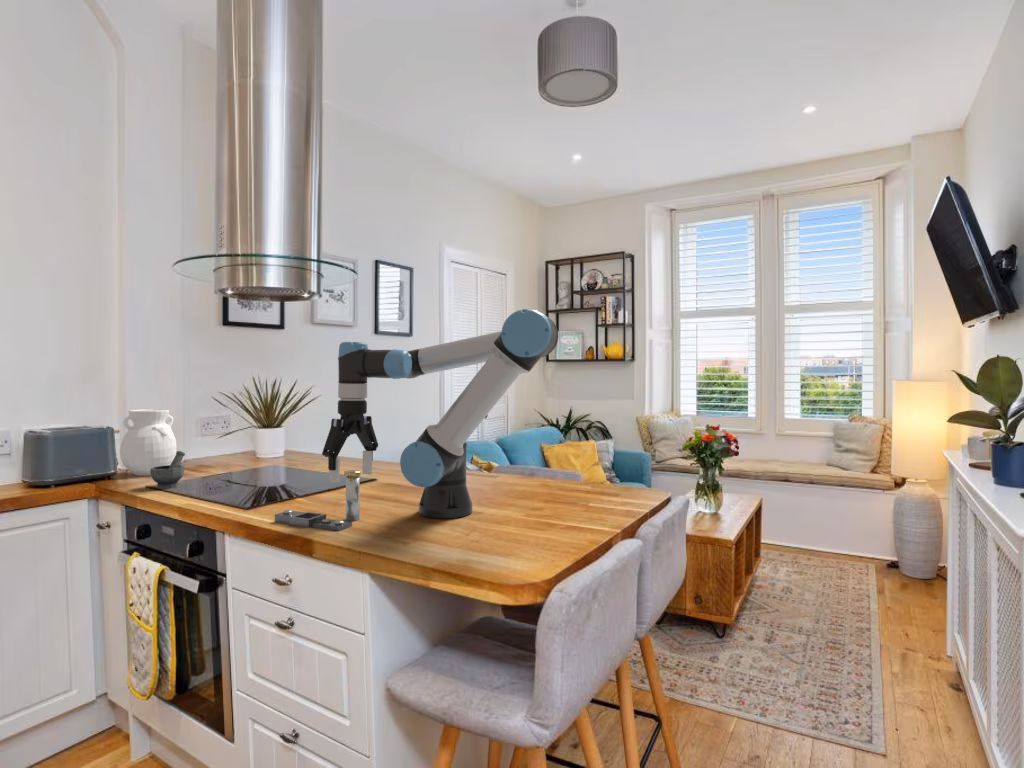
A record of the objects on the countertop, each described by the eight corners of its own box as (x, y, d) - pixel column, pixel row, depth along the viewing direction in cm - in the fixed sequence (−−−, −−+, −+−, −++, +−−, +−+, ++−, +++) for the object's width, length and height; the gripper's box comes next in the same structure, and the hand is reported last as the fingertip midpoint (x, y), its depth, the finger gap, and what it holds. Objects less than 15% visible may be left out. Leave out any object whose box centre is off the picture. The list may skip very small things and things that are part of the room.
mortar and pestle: (163, 491, 188) (163, 455, 188) (144, 488, 191) (144, 453, 191) (193, 485, 198) (193, 450, 198) (174, 483, 202) (174, 449, 201)
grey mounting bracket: (353, 525, 146) (353, 515, 146) (337, 531, 140) (337, 521, 140) (290, 517, 154) (290, 507, 154) (272, 522, 148) (272, 512, 148)
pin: (364, 518, 153) (364, 470, 153) (354, 522, 149) (354, 473, 149) (351, 516, 155) (351, 469, 155) (340, 520, 151) (340, 472, 151)
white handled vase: (164, 468, 233) (163, 407, 232) (185, 473, 222) (185, 409, 221) (111, 474, 217) (111, 410, 217) (132, 480, 207) (131, 412, 206)
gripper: (369, 397, 164) (368, 469, 165) (308, 400, 141) (307, 484, 142) (391, 398, 162) (390, 472, 162) (331, 401, 139) (330, 487, 139)
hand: (351, 478), depth 152 cm, fingers open, 13 cm apart
